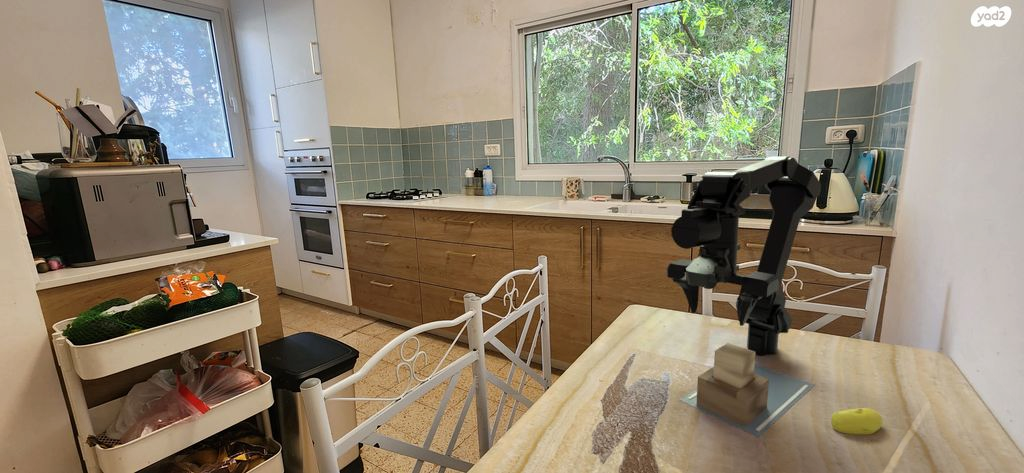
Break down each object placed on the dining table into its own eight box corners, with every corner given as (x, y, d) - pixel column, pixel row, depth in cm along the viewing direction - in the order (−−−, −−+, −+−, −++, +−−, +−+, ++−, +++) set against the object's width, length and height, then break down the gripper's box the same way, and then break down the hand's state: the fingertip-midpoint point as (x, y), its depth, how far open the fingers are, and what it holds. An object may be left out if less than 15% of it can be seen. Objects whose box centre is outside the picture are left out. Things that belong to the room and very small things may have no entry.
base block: (719, 388, 78) (721, 361, 77) (766, 407, 72) (769, 379, 71) (696, 404, 73) (697, 376, 72) (744, 426, 67) (746, 396, 66)
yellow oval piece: (821, 425, 68) (823, 403, 67) (868, 421, 68) (871, 399, 68) (843, 443, 64) (846, 419, 63) (893, 438, 64) (896, 415, 64)
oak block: (726, 374, 75) (728, 342, 74) (752, 384, 71) (755, 351, 70) (712, 383, 72) (714, 350, 71) (740, 394, 68) (742, 360, 67)
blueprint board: (741, 362, 88) (742, 358, 88) (814, 388, 78) (815, 383, 78) (679, 404, 75) (679, 399, 74) (758, 441, 64) (758, 436, 64)
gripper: (651, 241, 81) (650, 317, 84) (756, 256, 67) (750, 347, 70) (681, 231, 88) (680, 303, 91) (782, 243, 74) (776, 327, 77)
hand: (717, 318), depth 82 cm, fingers open, 9 cm apart
